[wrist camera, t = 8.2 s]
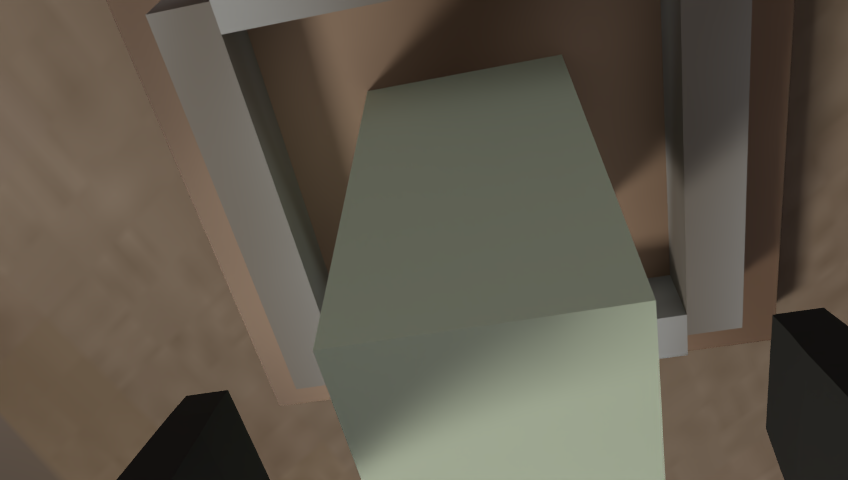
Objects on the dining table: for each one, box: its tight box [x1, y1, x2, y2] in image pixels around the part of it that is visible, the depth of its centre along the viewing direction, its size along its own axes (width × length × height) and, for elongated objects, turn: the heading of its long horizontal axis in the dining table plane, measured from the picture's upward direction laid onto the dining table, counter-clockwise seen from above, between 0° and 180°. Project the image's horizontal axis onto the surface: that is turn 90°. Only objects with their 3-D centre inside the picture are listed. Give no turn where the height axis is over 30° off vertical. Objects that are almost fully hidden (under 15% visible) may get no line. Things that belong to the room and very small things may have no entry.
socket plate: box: [106, 0, 795, 406], centre depth 16 cm, size 13×13×2 cm
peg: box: [313, 54, 665, 480], centre depth 13 cm, size 4×4×8 cm
